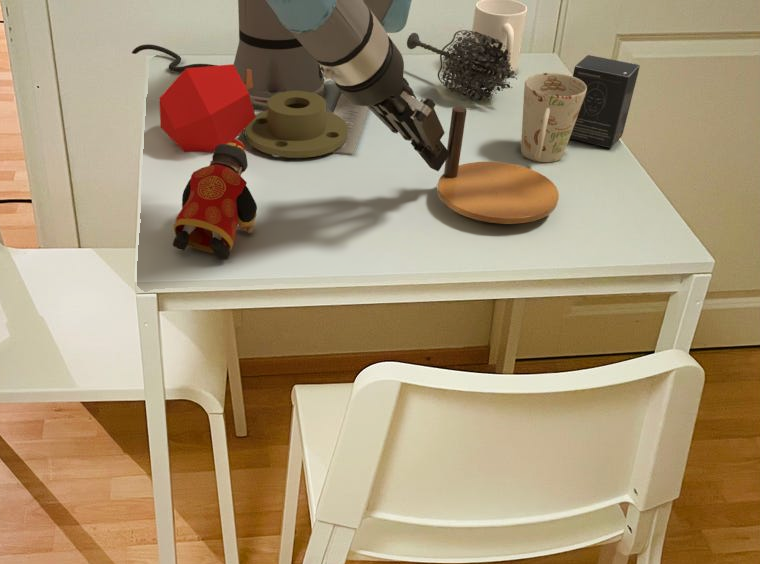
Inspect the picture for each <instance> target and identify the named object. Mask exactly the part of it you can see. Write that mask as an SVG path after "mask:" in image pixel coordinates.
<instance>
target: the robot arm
mask: <svg viewBox="0 0 760 564" xmlns="http://www.w3.org/2000/svg"><path fill="white" fill-rule="evenodd" d="M412 1H413V0H237V3H238V4H237V7H238V9H237V10H238V45H237V48H236V53H235V57H234V62H233V64H234V66H235V68H236V70H237V72H238V74H239V76H240V78H241V79H242V81H243V83H245V75H246V69H251V70H252V84H253V87H252V88H250V89H248V90H247V91H248V93H249V96H250V99H251V102H252V106H253V109H261V110H267V102H268V100H269V98H270V97H272V96H273V95H275V94H278V93H281V92H286V91H306V92H311V93H315V94H317V95H320V96H321V97H323V96H324V93H325V80H330V79H331V80H332V82H334V85H335V86H336V87H337V88H338V89H339V90H340V92H341V93H343V94H344V95H345V96H346V97H347V98H348V99H349V100H350V101H351V102H352V103H354V104H356V105H359V106H367V107H368V110H370V111H371V112H372V113H373V114H374V116H375V117H377V118H378V119H379V120H380V121H381V123H383V124H384V125H385V126H386V127H387V128H388V129H389V130H390V131H391V133H392V134H398V133H399V134H400V136H401V137H402V138H403V140H405V141H407V142H410V144H411V146H412V147H413V150H414V151H416V152H417V153H418V155H420V157H421V158H422V160H423V161H424V162H425V163H426V164H427V166H428V167H429V168H430V169H432V170H434V171H436V172H439V171H440V170H441V168H442V167H443V165H445V161H446V159H447V158H448V156H449V155H450V153H449V151H448V150H447V147H446V146H445V145H444V144H443V142H442V141H441V140H442V138H443V137H444V135H445V129H444V128H443V126H442V123H441V120H440V119H439V117H438V114H437V112H436V110H435V106H436V102H435V101H434V100H433V99H431V98H428V97H426V98H420V99H421V100H419V99H418V98H417V96H416V95H415V93H414V90H413V89H412V87H411V86H410V83H409V82H408V80H407V79H406V78H405V77H404V71H405V61H404V58H403V55H402V53H401V51H400V50H399V48H398V47H397V45H396V44H395V43H394V42H393V40H392V39H391V37H390V36H389V35H388V34H398V33H400V32H402V30H404V29H405V27H406V25H407V22H408V18H409V13H410V9H411V5H412ZM144 50H145V51H146V50H152V51H157V52H161V53H164V54H166V55H168V56H170V57H171V58H173V59H174V60H172V62H171V63H169V64H168V69H169V71H171V72H173V73H182V72H183V71H184V70H185V69H186V68H195V67H207V66H219V65H218V64H209V63H191V64H187V65H182V66H178V65H179V64H180V63H181V61H182V58H181V56H180V55H179V54H177V53H176V52H174V51H172V50H170V49H168V48H166V47H163V46H160V45H156V44H147V43H146V44H141V45H139V46H136V47H135V48H134V49H133V50H132V51H131V54H133V55H136V54H138V53H140V52H142V51H144Z"/></svg>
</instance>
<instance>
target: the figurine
mask: <svg viewBox="0 0 760 564" xmlns="http://www.w3.org/2000/svg"><path fill="white" fill-rule="evenodd" d="M248 166H249V165H248V157H247V153H246V146H245V144H244V143H243V142H242V141H241V140H239V139H236V138H235V139H231V140H229V141H228V142H227V144H220V145H218V146H216V148H215V150H214V151H213V154H212V160H210V162H209V165H207V166H203V167H201V168H199V169H196V170H195V171H193V172H192V174H191V175H190V179H189V180H188V182H187V183H186V186H185V188H184V189H183V192H182V198H181V210H180V211H179V213H178V214H177V216H176V219H175V221H174V223H173V229H174V233H175V237H174V239H173V242H172V246H173V247H174V248H176V249H177V250H179V251H185V250H186V249H187V247H191V248H192V249H196V250H198V251H201V252H205V253H210V254H211V253H212V254H213V255H215V256H216V258H218V259H221V260H228V259H229V256H230V251H232V250H233V248H234V247H233V246H234V244H235V241H236V235H237V229H239V230H242V231H244V232H247V233H248V234H251V233H252V232H253V230H254V228H255V219H256V217H257V210H258V205H257V203H256V200H255V199H254V196H253V195H252V192H251V191H250V189H249V187H248V186H247V184H248V183H247V181H246V180H245V178H243V176H242V174H243V173H244V172H246V170H247V169H248Z"/></svg>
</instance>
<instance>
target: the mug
mask: <svg viewBox="0 0 760 564" xmlns="http://www.w3.org/2000/svg"><path fill="white" fill-rule="evenodd" d="M586 91H587V86H586V84H585V83H584V82H583V81H581V80H580V79H578V78H575V77H573V75H570V74H564V73H558V72H541V73H535V74H533V75H529V76H528V77H527V78H526V79H525V82H524V88H523V103H522V120H521V121H522V124H521V139H520V140H521V141H520V153H521V154H522V156H523V157H525V158H527V159H529V160H531V161H534V162H538V163H553V162H554V163H555V162H557V161H560V160H561V159H563V157H564V155H565V151H566V150H567V146H568V143H569V141H570V136H571V133H572V130H573V127H574V125H575V122H576V119H577V116H578V114H579V111H580V108H581V105H582V103H583V100H584V97H585V94H586Z"/></svg>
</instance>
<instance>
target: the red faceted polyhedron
mask: <svg viewBox="0 0 760 564" xmlns="http://www.w3.org/2000/svg"><path fill="white" fill-rule="evenodd" d="M252 87H253V84H252V70H251V69H246V75H245V83H243V81H242V79H241V78H240V76H239V74H238V72H237V70H236V68H235V66H234V63H233V64H231V63H230V64H221V65H219V66H207V67H195V68H186V69H185V70H184V71H183V72H180V74H179V75H178V76H177V77H176V79H175V80H174V81H173V82H172V83H171V84H170V86H169V87H168V88H167V89H165V91H164V92H163V94H162V95H161V96H159V99H158V100H159V120H160V121H159V123H160V125H159V126H160V129H161V130H162V131H163V132H164V133H165V134H166V135H167V136H168V137H169V138H170V139H171V140H172V141H173V142H174V143H175V144H176V145H177V146H178V147H179V148H180V149H181V150H182V151H183V152H184V153H202V152H204V153H205V152H214V150H215V148H216V146H218V145H220V144H227V142H228V141H229V140H231V139H236V138H238V136H240V134H241V133H242V132H244V131H245V128H246V127H247V126H248V125H249V124H250V123H251V122H252V121H253V120H254V119H255V117H256V116H255V115H256V113H255V110H254V109H255V108H254V107H253V106H252V102H251V99H250V96H249V93H248V91H247V90H248V89H250V88H252Z"/></svg>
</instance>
